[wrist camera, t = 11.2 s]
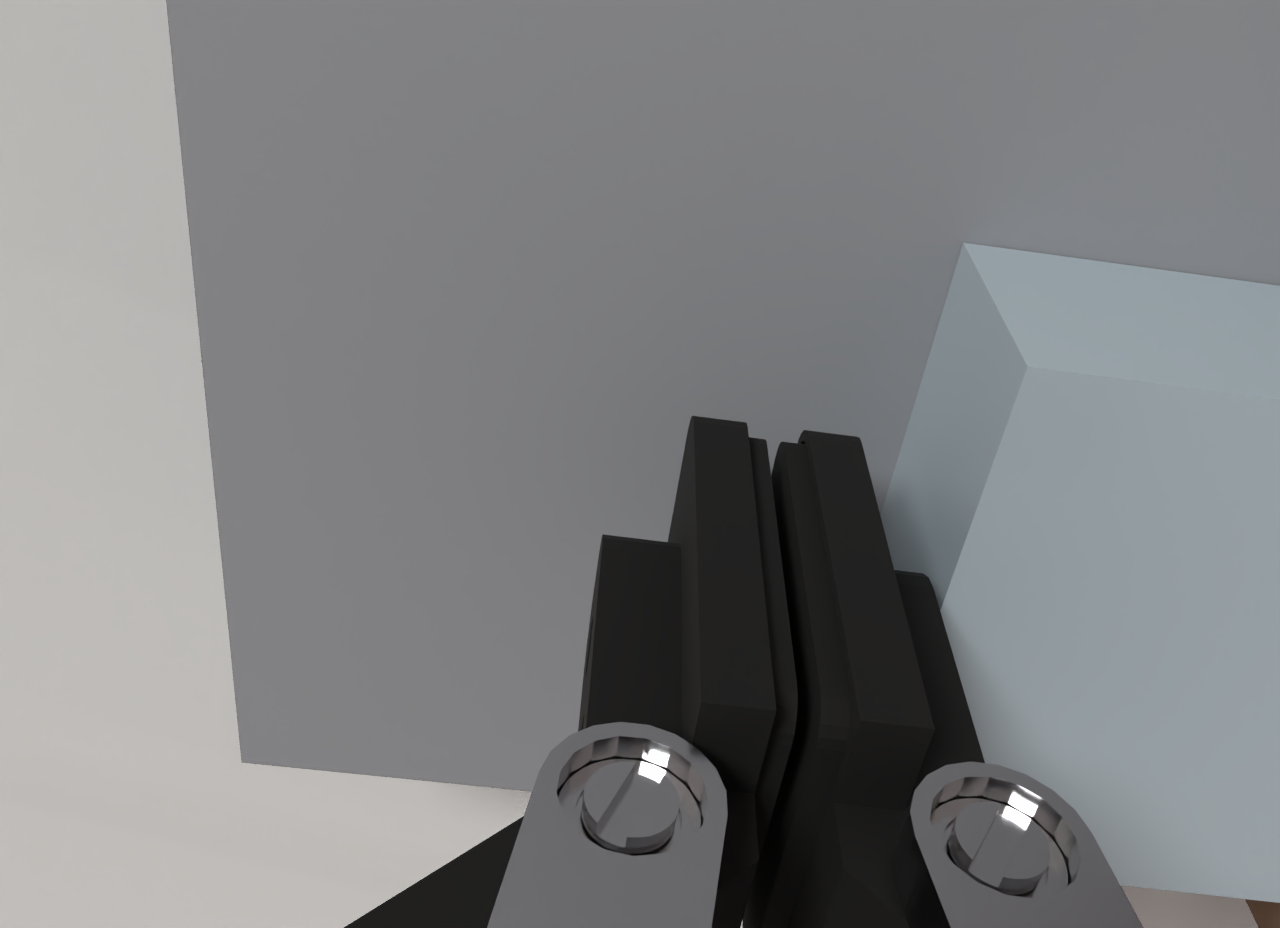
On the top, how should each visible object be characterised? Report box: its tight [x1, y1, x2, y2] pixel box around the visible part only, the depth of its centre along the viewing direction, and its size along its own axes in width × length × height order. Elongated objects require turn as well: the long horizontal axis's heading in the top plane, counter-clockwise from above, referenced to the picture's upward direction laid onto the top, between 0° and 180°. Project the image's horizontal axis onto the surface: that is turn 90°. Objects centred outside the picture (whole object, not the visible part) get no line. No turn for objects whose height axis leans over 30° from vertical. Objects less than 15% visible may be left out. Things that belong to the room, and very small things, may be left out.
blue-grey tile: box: [881, 243, 1280, 903], centre depth 12 cm, size 6×6×2 cm
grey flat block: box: [166, 0, 1280, 791], centre depth 12 cm, size 19×14×4 cm
